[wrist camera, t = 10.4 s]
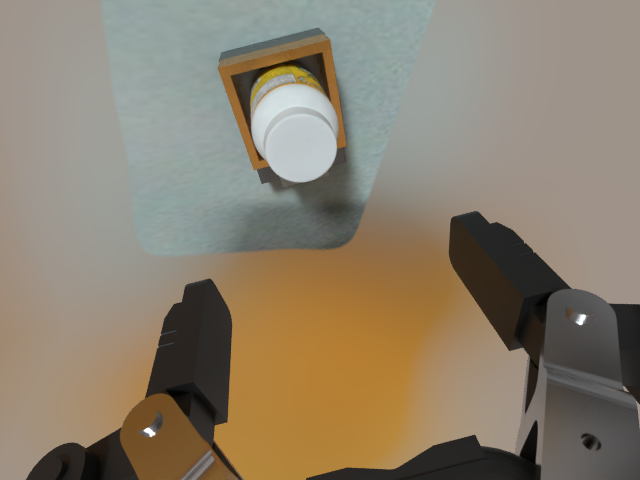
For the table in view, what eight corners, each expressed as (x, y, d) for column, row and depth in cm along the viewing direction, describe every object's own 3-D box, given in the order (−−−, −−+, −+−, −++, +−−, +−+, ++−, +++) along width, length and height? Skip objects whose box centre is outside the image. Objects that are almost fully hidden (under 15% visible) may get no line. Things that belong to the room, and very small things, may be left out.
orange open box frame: (221, 52, 26) (216, 68, 22) (318, 27, 26) (331, 39, 22) (260, 168, 33) (262, 198, 28) (338, 148, 33) (352, 175, 28)
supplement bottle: (237, 78, 25) (232, 124, 18) (305, 46, 24) (330, 80, 17) (269, 143, 28) (277, 206, 21) (330, 117, 28) (360, 171, 20)
